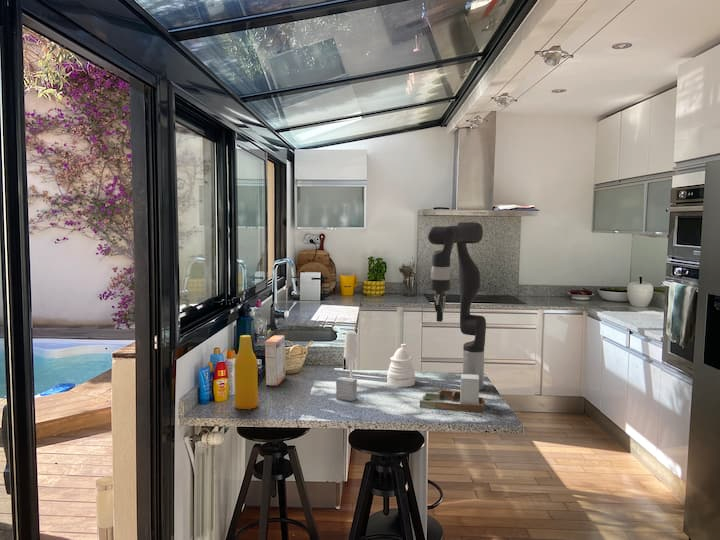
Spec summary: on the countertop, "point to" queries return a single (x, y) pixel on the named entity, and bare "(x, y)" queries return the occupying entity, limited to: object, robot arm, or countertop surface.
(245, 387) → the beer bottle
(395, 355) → the honey pot
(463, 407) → the wooden tray
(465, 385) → the supplement box
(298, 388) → the countertop surface
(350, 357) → the champagne flute
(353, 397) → the medicine box
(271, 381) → the cracker box
